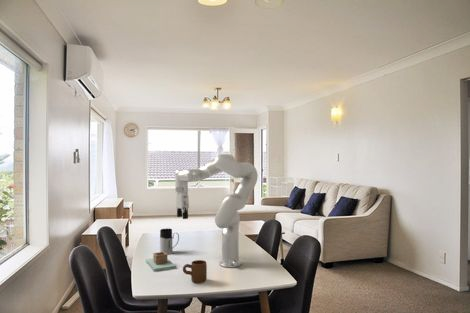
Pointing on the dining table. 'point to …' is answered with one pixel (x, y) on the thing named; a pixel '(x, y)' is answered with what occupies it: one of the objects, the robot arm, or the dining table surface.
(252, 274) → the dining table surface
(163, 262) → the walnut collar
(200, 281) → the mug
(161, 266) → the base board
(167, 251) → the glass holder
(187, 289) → the dining table surface
